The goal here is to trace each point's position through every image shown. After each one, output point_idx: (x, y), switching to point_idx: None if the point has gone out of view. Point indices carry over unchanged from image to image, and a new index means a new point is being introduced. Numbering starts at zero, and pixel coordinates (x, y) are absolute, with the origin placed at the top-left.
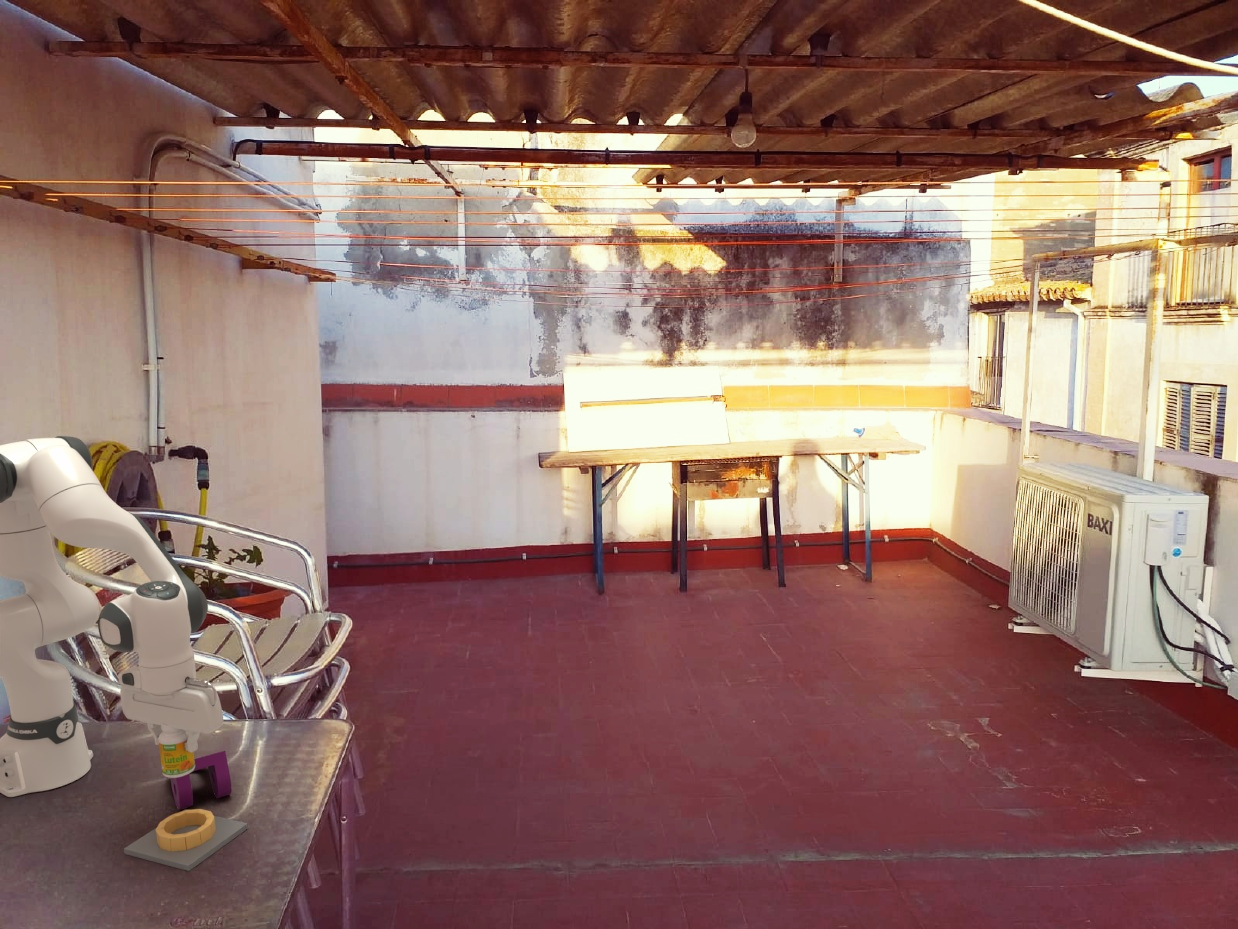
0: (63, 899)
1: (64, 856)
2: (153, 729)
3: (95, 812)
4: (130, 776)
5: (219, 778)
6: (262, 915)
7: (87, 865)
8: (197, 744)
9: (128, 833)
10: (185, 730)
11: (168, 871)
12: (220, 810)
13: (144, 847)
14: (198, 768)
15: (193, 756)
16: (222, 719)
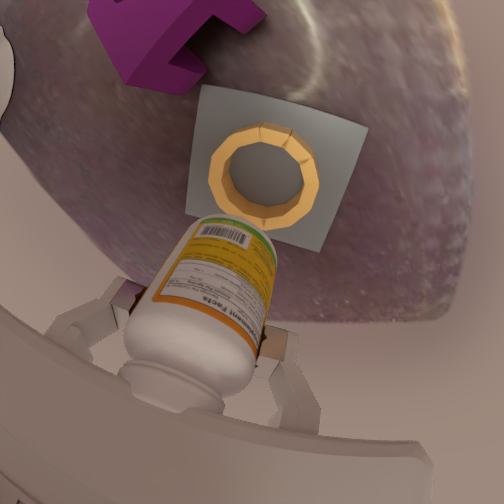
0: None
1: (119, 218)
2: (89, 343)
3: (72, 119)
4: (53, 29)
5: (240, 25)
6: (435, 316)
7: (161, 234)
8: (297, 346)
9: (151, 157)
10: (224, 381)
11: (286, 246)
12: (269, 60)
13: (214, 209)
14: (182, 44)
15: (268, 278)
16: (430, 476)
